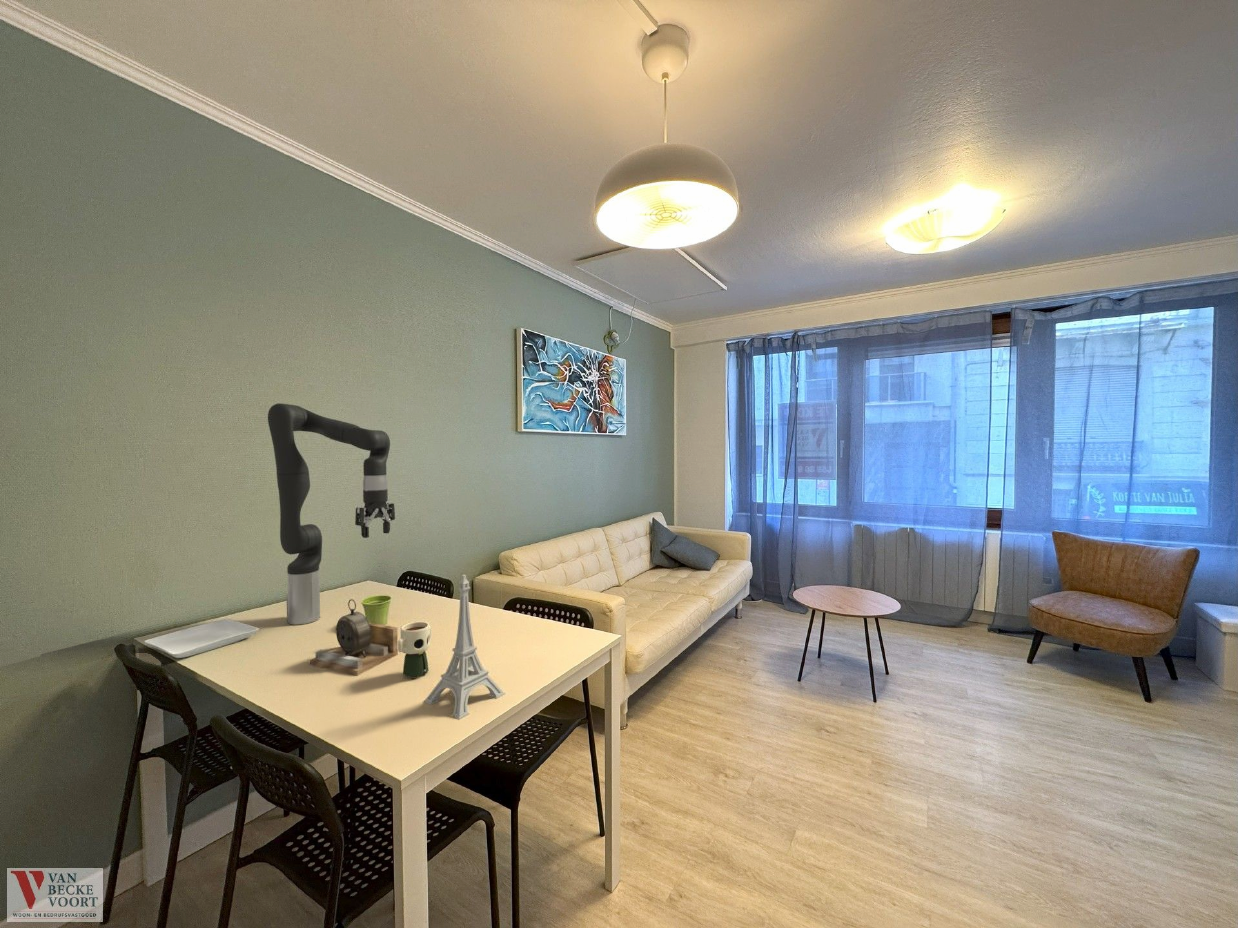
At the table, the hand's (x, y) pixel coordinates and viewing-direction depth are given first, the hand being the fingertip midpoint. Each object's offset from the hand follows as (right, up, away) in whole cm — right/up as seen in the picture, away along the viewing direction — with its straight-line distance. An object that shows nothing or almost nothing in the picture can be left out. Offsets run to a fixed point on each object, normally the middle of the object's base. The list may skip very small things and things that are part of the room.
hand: (376, 535), depth 163 cm
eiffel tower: (+46, -32, -48) cm, 74 cm away
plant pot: (+1, -30, -1) cm, 30 cm away
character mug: (+29, -32, -37) cm, 57 cm away
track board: (+8, -31, -29) cm, 43 cm away
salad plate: (-44, -31, -17) cm, 57 cm away
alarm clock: (+8, -30, -28) cm, 42 cm away
